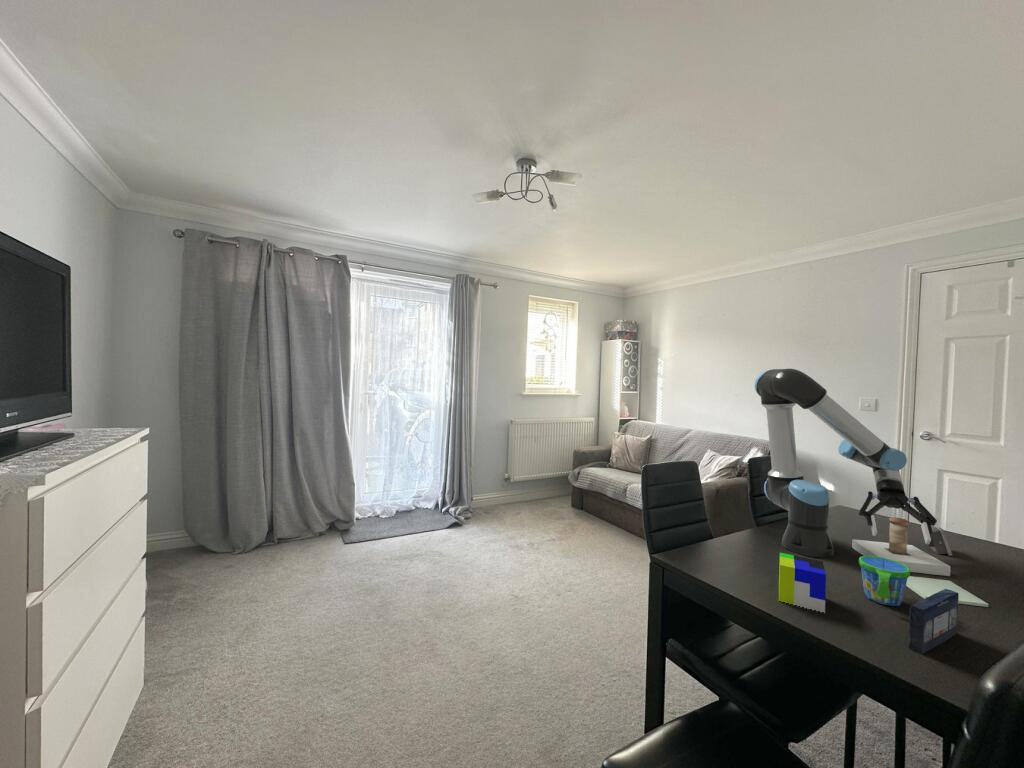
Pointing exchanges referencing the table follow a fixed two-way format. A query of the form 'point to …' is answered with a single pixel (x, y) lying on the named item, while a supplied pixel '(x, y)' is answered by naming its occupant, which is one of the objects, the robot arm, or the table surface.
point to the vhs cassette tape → (933, 620)
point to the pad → (932, 586)
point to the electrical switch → (939, 541)
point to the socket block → (903, 557)
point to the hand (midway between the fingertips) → (901, 538)
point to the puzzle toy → (802, 582)
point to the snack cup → (884, 579)
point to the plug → (898, 536)
